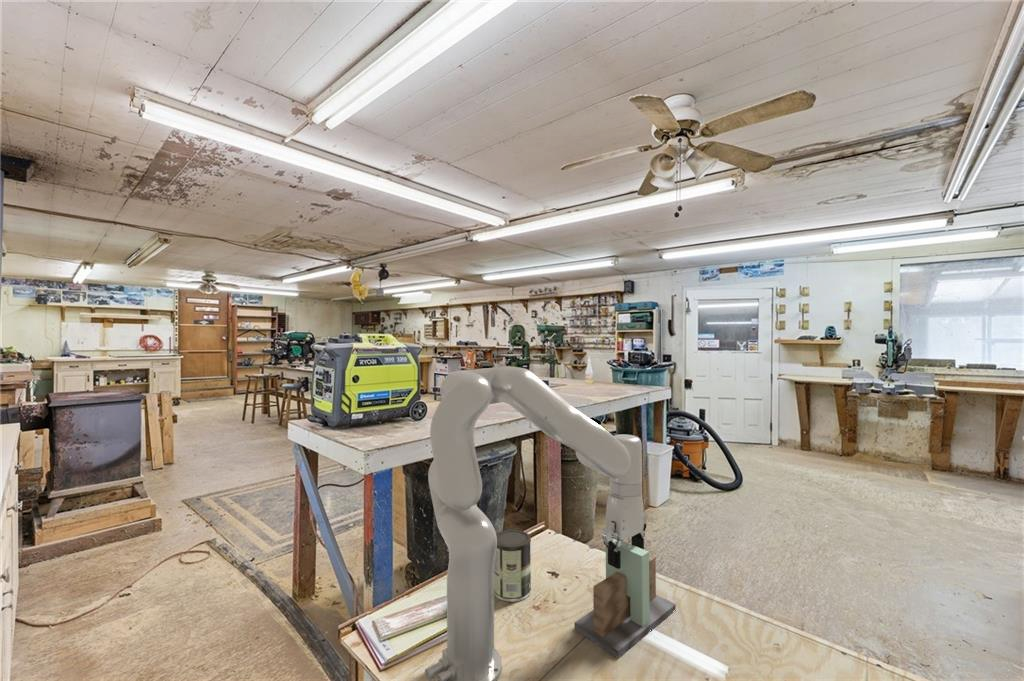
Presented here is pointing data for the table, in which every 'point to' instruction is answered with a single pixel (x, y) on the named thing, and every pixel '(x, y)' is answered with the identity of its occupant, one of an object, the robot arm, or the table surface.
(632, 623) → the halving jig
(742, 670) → the table surface
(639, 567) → the green slat
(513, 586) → the coffee can
